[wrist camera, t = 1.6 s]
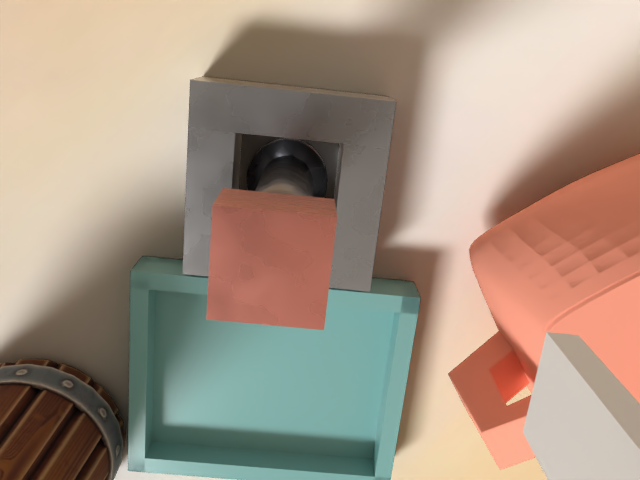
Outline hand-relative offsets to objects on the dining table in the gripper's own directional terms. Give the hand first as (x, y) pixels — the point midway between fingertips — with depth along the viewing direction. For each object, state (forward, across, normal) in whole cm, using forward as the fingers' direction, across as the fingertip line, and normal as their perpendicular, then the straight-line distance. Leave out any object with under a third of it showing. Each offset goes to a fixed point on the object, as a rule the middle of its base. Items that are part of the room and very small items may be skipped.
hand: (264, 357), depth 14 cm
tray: (+21, 0, -12) cm, 24 cm away
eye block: (+21, 0, 0) cm, 21 cm away
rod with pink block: (+21, 0, 0) cm, 21 cm away
